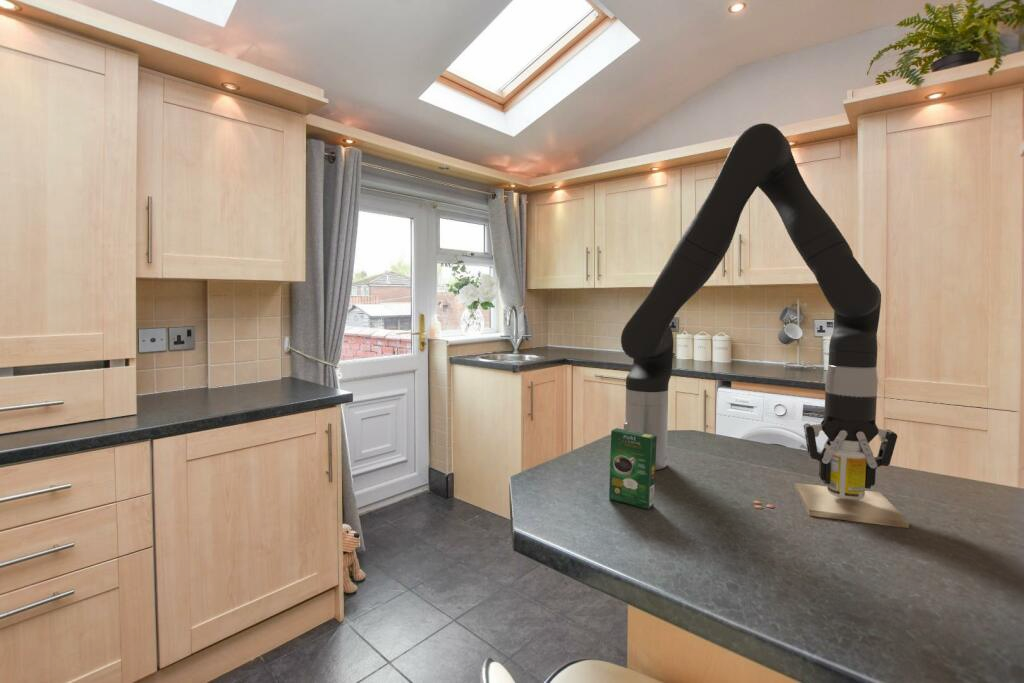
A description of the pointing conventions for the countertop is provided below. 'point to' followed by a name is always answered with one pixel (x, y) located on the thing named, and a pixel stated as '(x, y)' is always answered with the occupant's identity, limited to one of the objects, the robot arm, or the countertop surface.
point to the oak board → (850, 506)
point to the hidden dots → (761, 506)
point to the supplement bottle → (848, 471)
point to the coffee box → (632, 467)
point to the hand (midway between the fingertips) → (846, 484)
